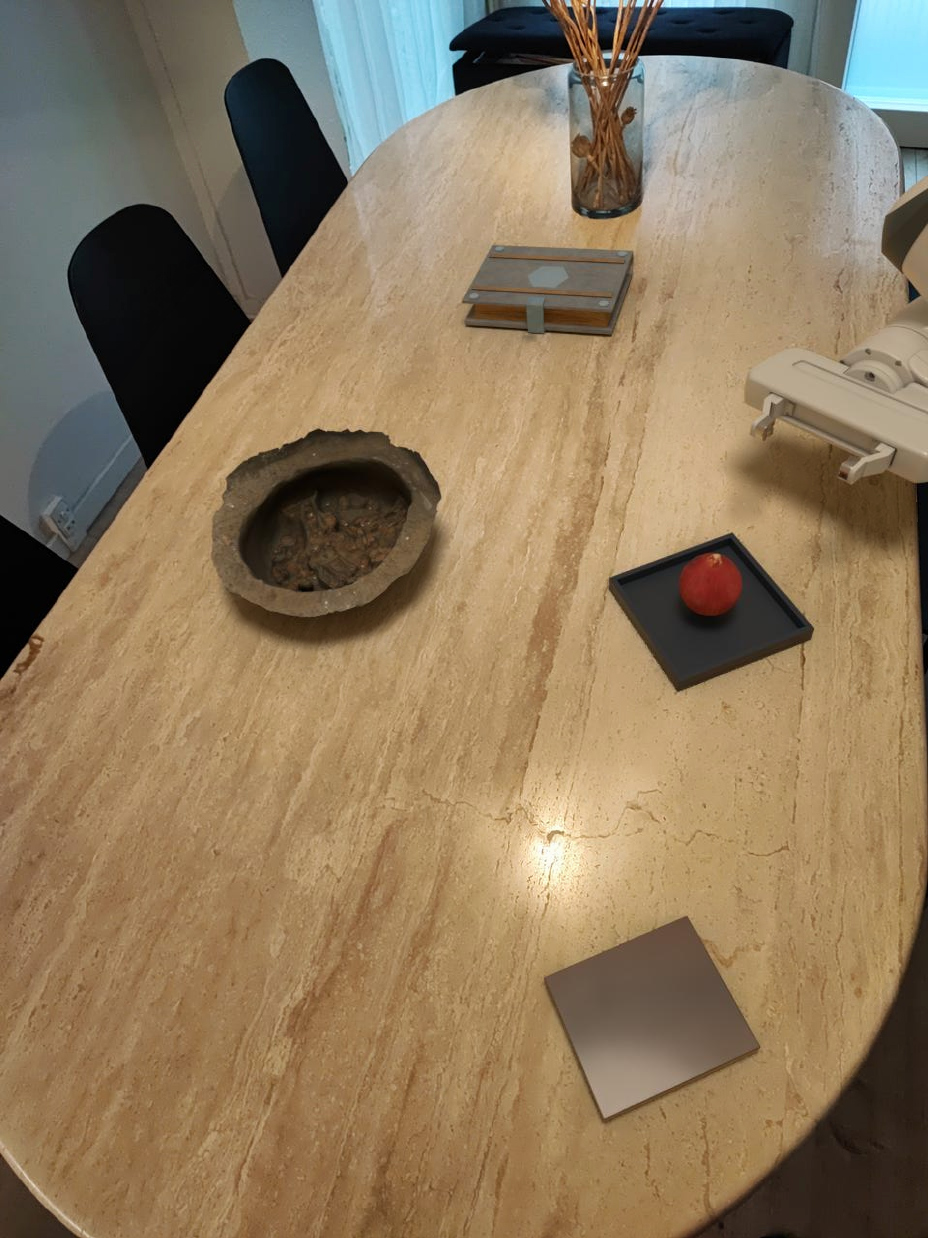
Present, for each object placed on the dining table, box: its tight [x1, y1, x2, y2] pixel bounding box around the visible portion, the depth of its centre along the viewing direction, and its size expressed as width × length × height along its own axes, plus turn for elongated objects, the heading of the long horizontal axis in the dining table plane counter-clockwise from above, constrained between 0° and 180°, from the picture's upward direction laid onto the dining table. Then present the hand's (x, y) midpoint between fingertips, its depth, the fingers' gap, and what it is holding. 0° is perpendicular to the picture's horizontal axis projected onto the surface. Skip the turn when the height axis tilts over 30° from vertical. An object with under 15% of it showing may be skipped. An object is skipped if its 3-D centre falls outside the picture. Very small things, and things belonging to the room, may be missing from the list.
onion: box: [678, 553, 742, 616], centre depth 81 cm, size 6×6×8 cm
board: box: [543, 915, 761, 1124], centre depth 62 cm, size 10×12×1 cm
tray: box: [608, 531, 815, 692], centre depth 84 cm, size 14×14×2 cm
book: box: [461, 244, 635, 336], centre depth 121 cm, size 21×16×5 cm
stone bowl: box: [210, 428, 442, 618], centre depth 92 cm, size 25×25×9 cm
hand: (799, 453), depth 80 cm, fingers open, 8 cm apart
